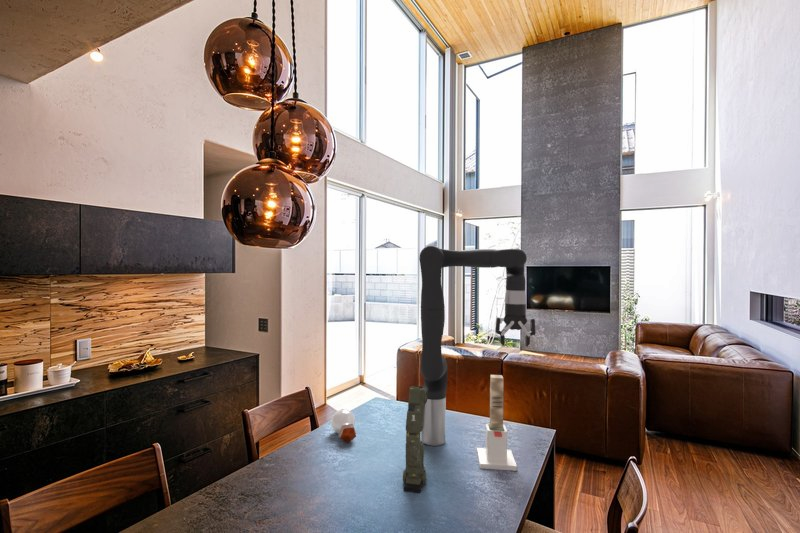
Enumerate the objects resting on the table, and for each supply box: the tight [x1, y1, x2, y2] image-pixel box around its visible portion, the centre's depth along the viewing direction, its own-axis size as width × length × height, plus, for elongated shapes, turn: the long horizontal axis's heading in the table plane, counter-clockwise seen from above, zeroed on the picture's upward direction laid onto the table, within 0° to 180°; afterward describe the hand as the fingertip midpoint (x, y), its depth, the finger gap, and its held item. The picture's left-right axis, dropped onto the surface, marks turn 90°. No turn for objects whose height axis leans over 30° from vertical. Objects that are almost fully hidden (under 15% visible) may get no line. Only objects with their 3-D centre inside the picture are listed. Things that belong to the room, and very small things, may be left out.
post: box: [488, 374, 505, 431], centre depth 137 cm, size 4×4×22 cm
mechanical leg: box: [402, 385, 427, 494], centre depth 124 cm, size 14×7×30 cm, turn 169°
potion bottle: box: [330, 408, 357, 444], centre depth 156 cm, size 9×10×15 cm
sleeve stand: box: [476, 423, 518, 472], centre depth 137 cm, size 12×12×12 cm
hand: (514, 345), depth 148 cm, fingers open, 8 cm apart
